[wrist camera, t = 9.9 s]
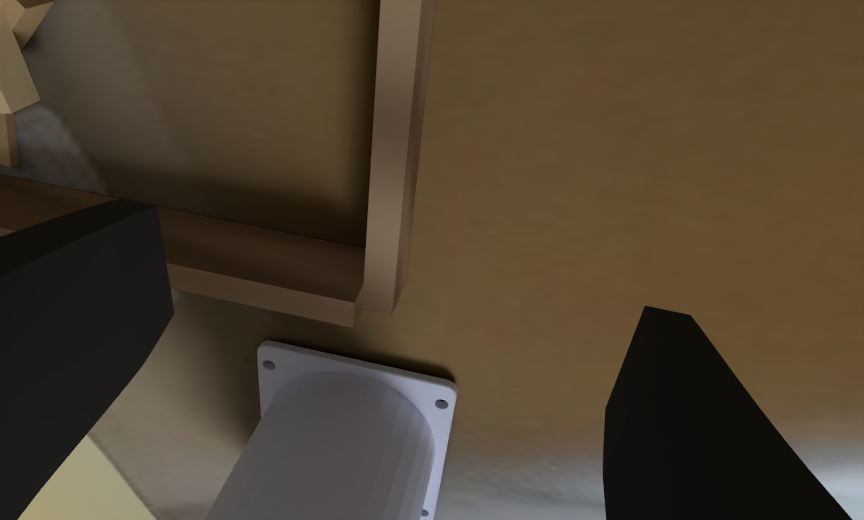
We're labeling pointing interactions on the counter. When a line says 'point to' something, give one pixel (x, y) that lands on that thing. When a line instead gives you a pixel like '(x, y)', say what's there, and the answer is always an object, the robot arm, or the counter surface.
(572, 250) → the counter surface
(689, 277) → the counter surface
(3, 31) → the offcut top
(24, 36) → the offcut middle
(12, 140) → the offcut bottom
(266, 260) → the walnut rack
